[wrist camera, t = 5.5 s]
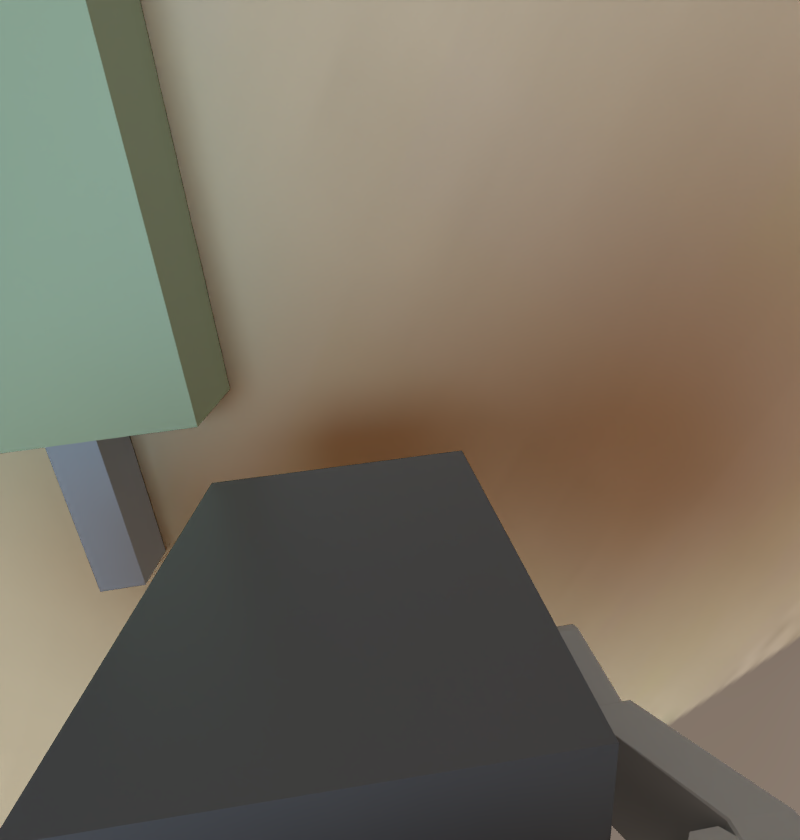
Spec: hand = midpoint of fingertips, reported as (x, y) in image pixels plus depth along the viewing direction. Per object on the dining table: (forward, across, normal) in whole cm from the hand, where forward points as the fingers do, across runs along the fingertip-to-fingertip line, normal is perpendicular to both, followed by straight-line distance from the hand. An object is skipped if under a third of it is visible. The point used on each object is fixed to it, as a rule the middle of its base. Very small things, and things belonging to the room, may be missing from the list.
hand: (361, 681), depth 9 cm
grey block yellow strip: (+2, 0, 0) cm, 2 cm away
